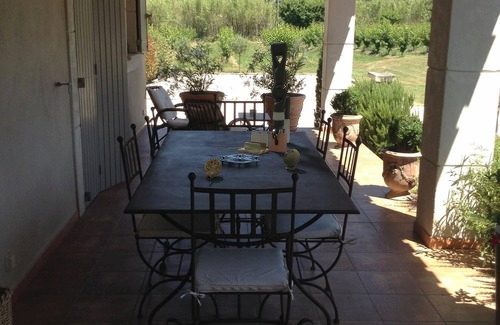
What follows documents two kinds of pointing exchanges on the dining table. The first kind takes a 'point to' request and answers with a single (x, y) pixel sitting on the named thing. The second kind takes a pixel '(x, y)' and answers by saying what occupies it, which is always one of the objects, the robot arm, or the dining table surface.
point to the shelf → (254, 147)
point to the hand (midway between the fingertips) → (278, 144)
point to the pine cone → (213, 167)
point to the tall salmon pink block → (281, 143)
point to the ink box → (260, 136)
